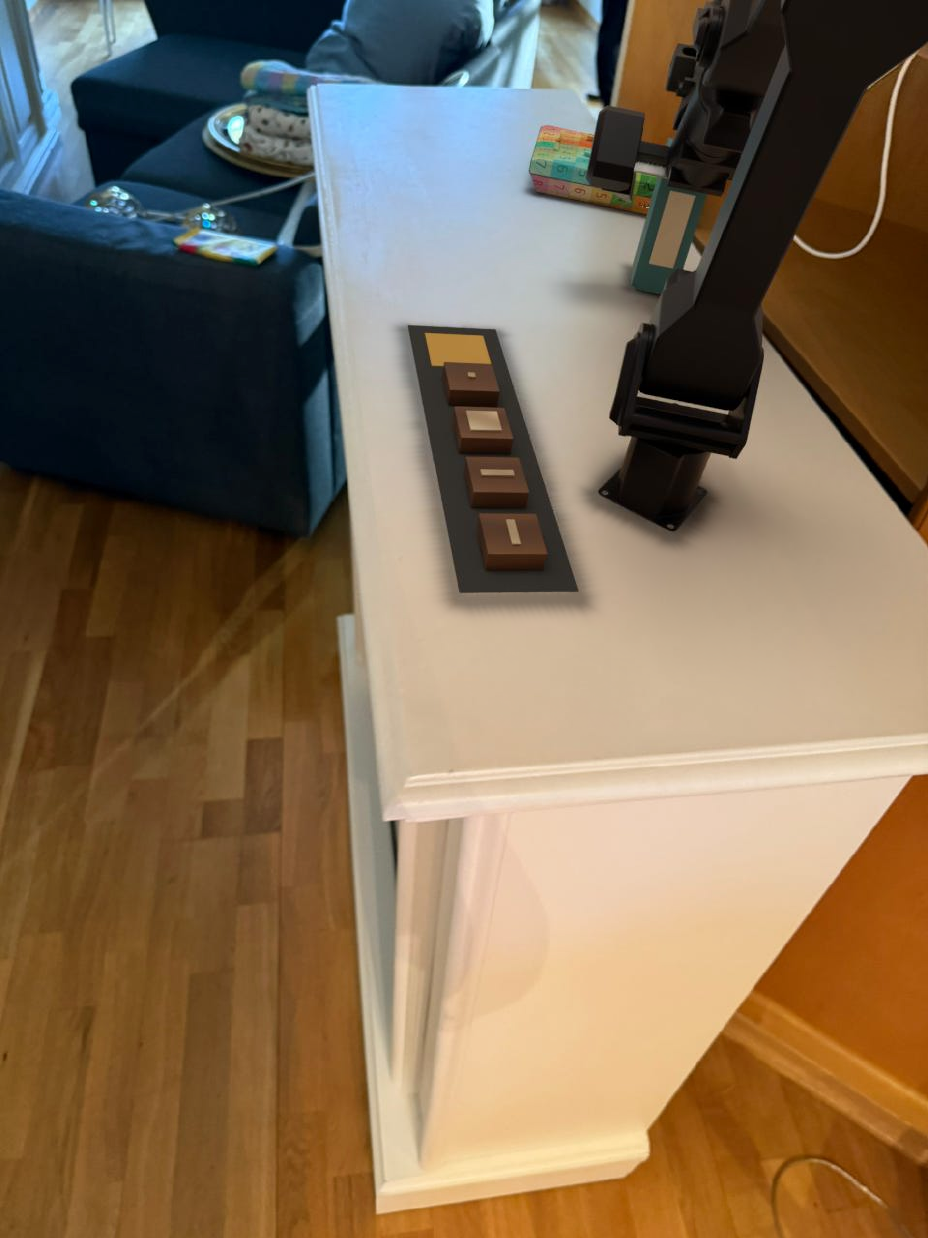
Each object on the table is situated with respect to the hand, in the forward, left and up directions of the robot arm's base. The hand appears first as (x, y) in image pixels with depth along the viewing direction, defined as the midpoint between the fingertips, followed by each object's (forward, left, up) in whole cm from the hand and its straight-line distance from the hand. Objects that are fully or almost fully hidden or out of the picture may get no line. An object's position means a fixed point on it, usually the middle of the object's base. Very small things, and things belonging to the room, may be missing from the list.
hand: (675, 206), depth 87 cm
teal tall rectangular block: (0, 0, -8) cm, 8 cm away
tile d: (-32, +2, -7) cm, 32 cm away
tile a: (-45, -11, -7) cm, 47 cm away
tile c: (-36, -3, -7) cm, 37 cm away
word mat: (-36, -3, -8) cm, 37 cm away
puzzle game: (+18, +14, -8) cm, 24 cm away
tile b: (-41, -7, -7) cm, 42 cm away
